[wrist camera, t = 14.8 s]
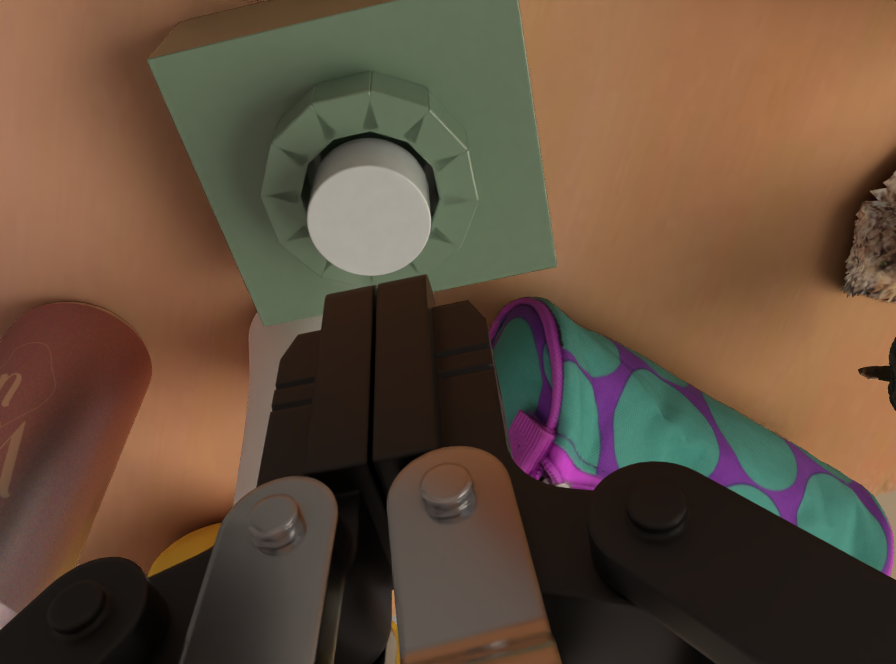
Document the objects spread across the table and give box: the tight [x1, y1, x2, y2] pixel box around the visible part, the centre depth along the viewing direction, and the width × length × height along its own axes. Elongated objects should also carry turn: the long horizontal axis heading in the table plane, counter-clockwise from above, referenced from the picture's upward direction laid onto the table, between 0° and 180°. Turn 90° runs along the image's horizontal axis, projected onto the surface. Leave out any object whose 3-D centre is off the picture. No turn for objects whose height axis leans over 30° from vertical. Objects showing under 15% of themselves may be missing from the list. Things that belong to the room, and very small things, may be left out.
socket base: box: [147, 0, 557, 327], centre depth 26 cm, size 11×10×6 cm
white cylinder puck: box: [307, 138, 431, 276], centre depth 23 cm, size 4×4×2 cm
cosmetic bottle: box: [233, 312, 323, 506], centre depth 25 cm, size 6×6×22 cm
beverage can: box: [0, 302, 152, 630], centre depth 28 cm, size 6×6×15 cm
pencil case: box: [489, 297, 894, 577], centre depth 34 cm, size 21×9×10 cm, turn 56°
